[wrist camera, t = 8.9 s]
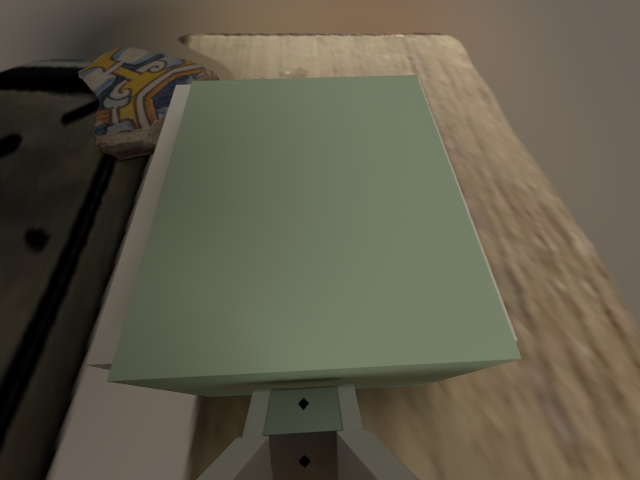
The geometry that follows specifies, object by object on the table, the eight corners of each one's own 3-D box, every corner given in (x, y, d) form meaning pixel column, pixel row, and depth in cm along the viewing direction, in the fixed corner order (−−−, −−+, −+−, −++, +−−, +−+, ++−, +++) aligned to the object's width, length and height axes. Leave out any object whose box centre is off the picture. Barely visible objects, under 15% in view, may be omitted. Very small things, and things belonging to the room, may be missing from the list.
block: (212, 397, 14) (107, 381, 7) (235, 196, 20) (191, 81, 13) (422, 385, 14) (521, 358, 7) (383, 190, 20) (416, 75, 13)
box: (142, 376, 14) (85, 364, 11) (197, 134, 23) (176, 84, 19) (470, 358, 15) (517, 341, 11) (403, 127, 23) (418, 78, 20)
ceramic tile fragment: (47, 60, 22) (171, 20, 26) (77, 99, 25) (186, 59, 28) (98, 153, 18) (243, 91, 21) (128, 188, 21) (251, 128, 24)
